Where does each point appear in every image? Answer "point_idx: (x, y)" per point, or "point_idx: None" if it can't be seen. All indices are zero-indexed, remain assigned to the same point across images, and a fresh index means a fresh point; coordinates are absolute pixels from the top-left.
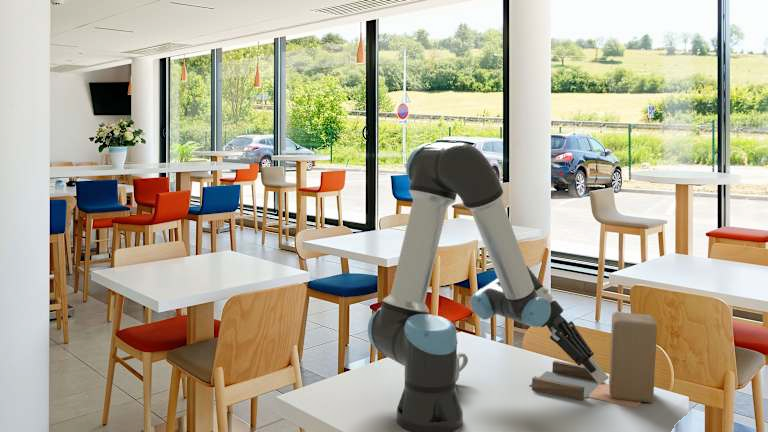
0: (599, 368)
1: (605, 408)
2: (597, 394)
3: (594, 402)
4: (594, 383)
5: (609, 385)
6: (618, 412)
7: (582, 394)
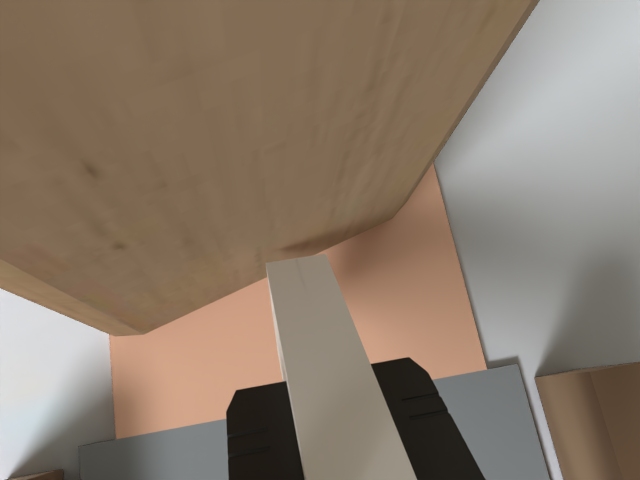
0: (330, 336)
1: (563, 184)
2: (389, 330)
3: (531, 284)
4: (155, 477)
5: (240, 286)
6: (553, 102)
7: (603, 366)
